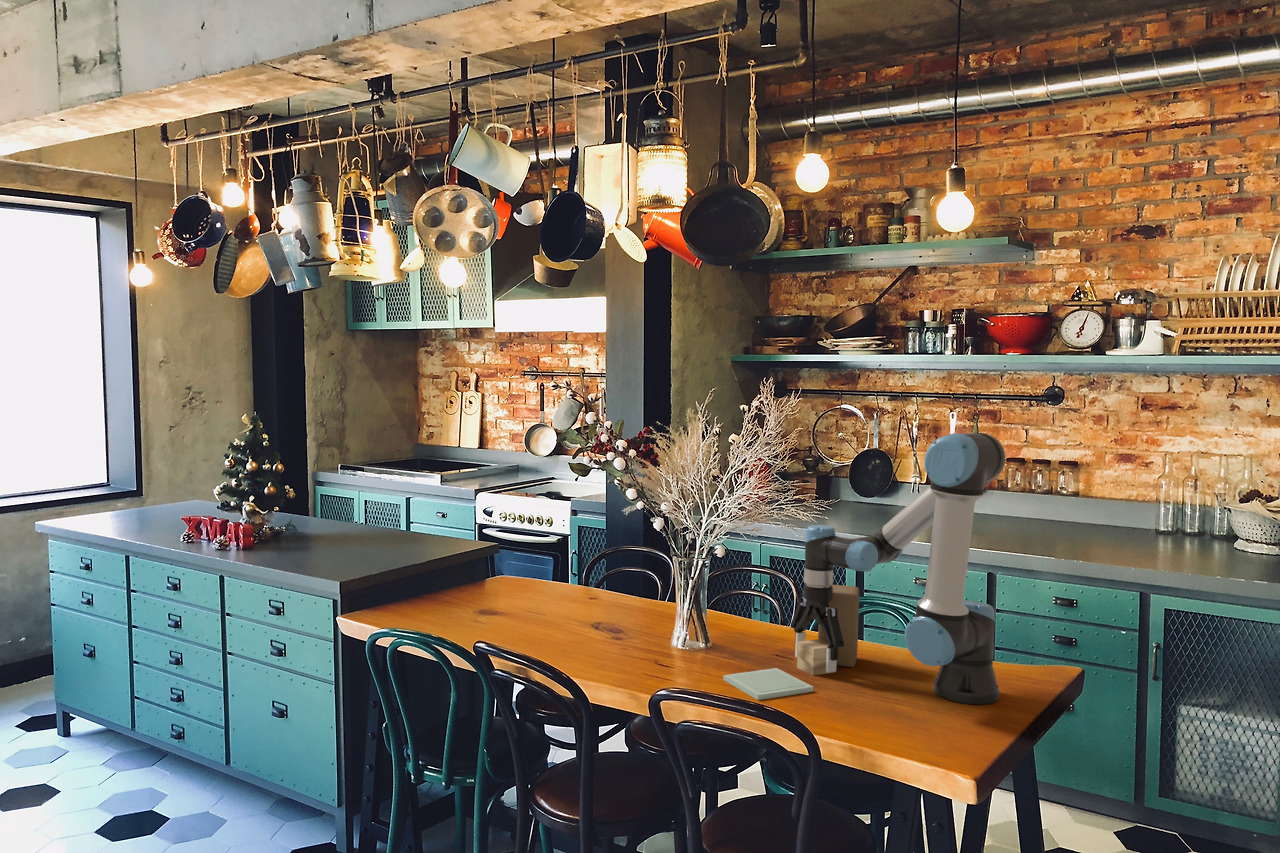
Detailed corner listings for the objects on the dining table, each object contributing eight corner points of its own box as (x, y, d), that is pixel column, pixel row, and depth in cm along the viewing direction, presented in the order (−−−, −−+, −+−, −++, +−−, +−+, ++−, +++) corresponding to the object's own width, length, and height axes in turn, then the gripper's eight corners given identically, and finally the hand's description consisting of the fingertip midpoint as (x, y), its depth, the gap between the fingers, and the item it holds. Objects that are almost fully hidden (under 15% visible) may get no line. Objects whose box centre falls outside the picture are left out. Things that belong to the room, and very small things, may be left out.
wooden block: (857, 657, 259) (859, 586, 258) (855, 668, 249) (857, 593, 248) (820, 654, 262) (822, 583, 261) (816, 664, 252) (819, 590, 251)
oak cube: (834, 672, 246) (835, 646, 245) (812, 675, 243) (813, 649, 242) (818, 664, 252) (819, 639, 252) (796, 667, 249) (797, 641, 249)
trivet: (813, 691, 230) (813, 686, 230) (757, 700, 223) (757, 694, 223) (776, 672, 244) (776, 667, 244) (723, 679, 238) (723, 675, 238)
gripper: (860, 594, 237) (856, 676, 238) (802, 573, 259) (799, 649, 260) (836, 596, 233) (832, 680, 235) (779, 575, 256) (776, 651, 257)
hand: (815, 664), depth 248 cm, fingers open, 13 cm apart
